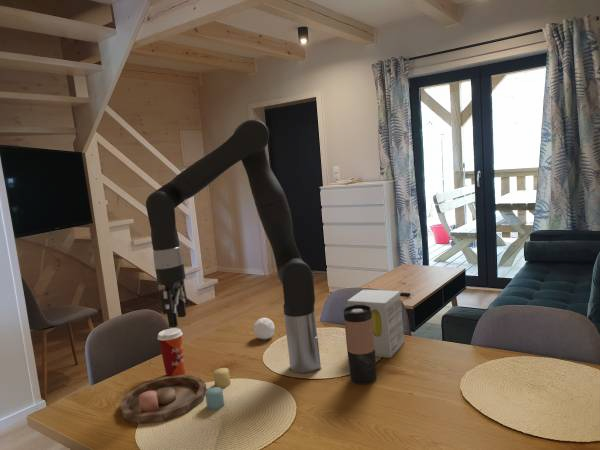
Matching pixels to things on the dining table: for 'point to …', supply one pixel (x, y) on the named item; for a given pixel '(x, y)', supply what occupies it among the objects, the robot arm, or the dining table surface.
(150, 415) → the walnut tray
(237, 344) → the dining table surface
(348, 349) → the travel mug
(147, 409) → the pink rounded piece
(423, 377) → the dining table surface
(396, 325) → the supplement box
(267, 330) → the geometric ball
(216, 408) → the pale blue rounded piece
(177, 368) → the paper cup
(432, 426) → the dining table surface
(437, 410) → the dining table surface
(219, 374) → the ochre bead
